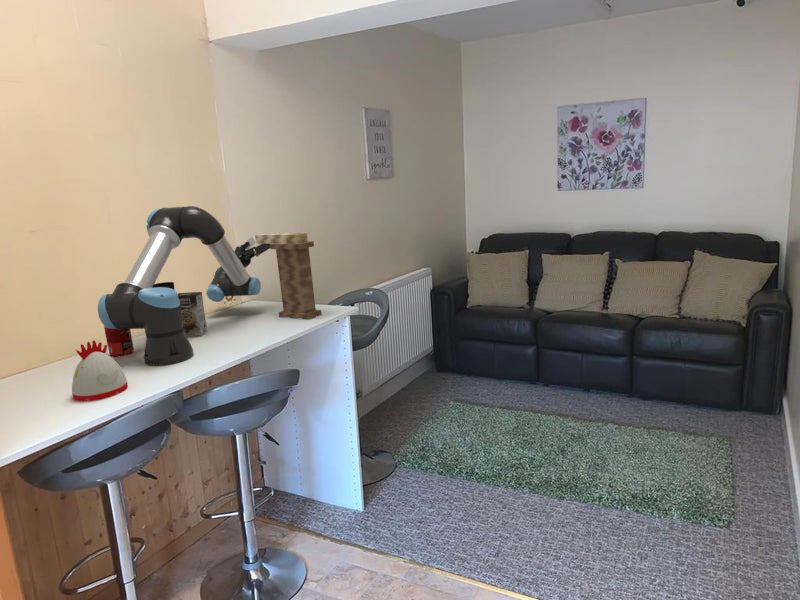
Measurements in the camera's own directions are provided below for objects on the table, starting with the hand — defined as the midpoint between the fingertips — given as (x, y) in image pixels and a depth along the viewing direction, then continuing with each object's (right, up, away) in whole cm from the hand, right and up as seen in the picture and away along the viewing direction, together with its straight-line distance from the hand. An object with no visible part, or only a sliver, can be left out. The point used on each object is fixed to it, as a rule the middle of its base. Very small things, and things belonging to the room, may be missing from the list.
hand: (266, 236), depth 239 cm
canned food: (-42, -45, -36) cm, 71 cm away
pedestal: (+14, -32, 0) cm, 35 cm away
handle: (+6, -3, -3) cm, 8 cm away
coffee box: (-24, -39, -18) cm, 49 cm away
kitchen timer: (-30, -52, -74) cm, 95 cm away
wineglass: (-33, -40, -15) cm, 54 cm away
